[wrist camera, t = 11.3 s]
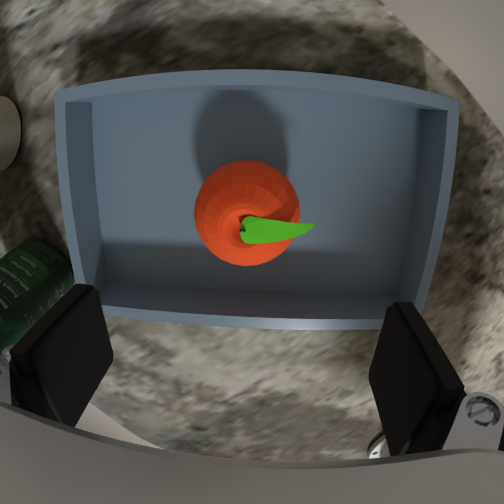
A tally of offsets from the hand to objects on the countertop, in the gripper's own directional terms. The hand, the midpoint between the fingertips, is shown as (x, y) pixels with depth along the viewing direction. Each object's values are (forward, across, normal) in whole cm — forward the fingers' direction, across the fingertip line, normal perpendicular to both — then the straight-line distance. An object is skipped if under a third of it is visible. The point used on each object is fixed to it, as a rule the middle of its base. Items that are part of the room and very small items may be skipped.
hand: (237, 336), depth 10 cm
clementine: (+16, 0, -1) cm, 16 cm away
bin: (+17, +1, -1) cm, 17 cm away
